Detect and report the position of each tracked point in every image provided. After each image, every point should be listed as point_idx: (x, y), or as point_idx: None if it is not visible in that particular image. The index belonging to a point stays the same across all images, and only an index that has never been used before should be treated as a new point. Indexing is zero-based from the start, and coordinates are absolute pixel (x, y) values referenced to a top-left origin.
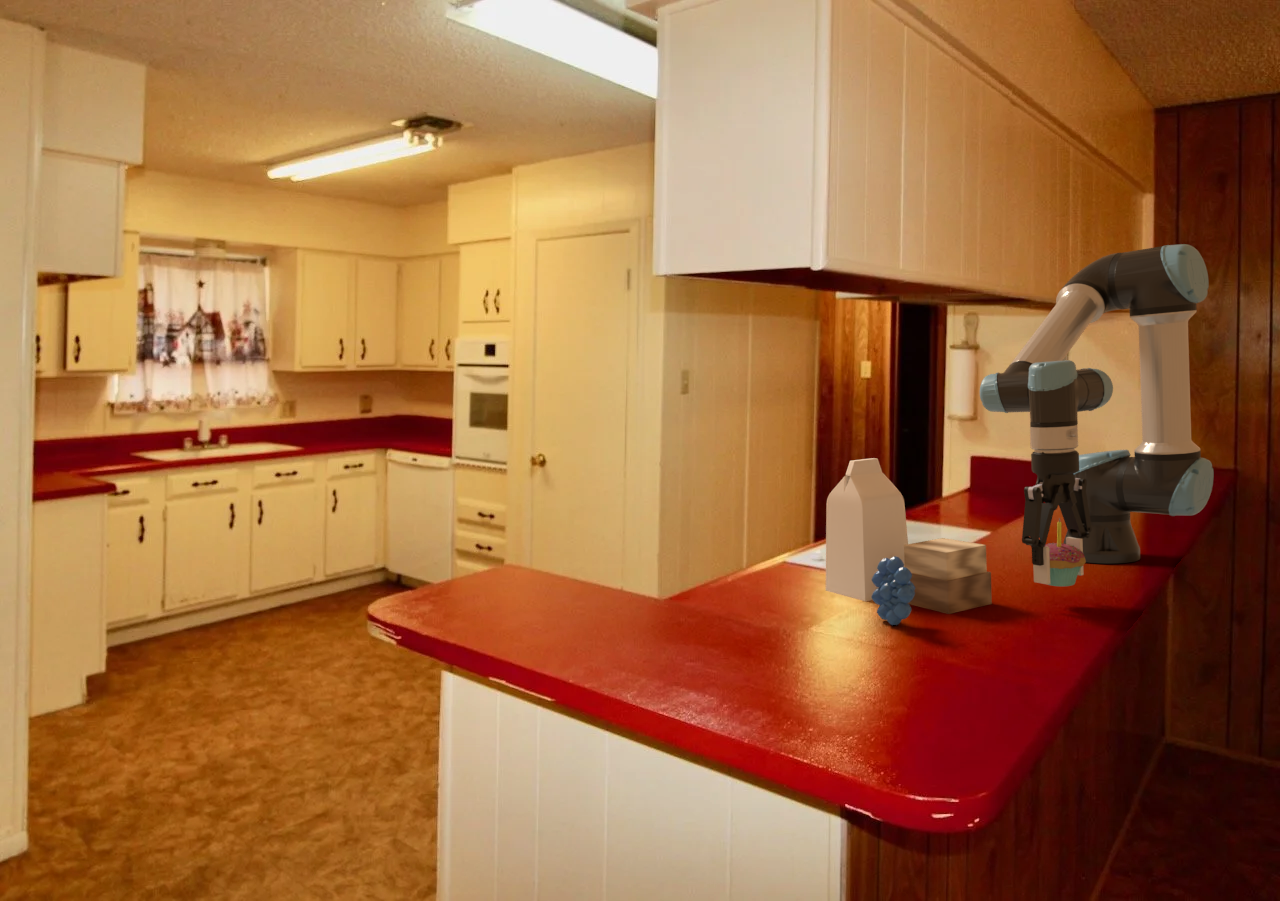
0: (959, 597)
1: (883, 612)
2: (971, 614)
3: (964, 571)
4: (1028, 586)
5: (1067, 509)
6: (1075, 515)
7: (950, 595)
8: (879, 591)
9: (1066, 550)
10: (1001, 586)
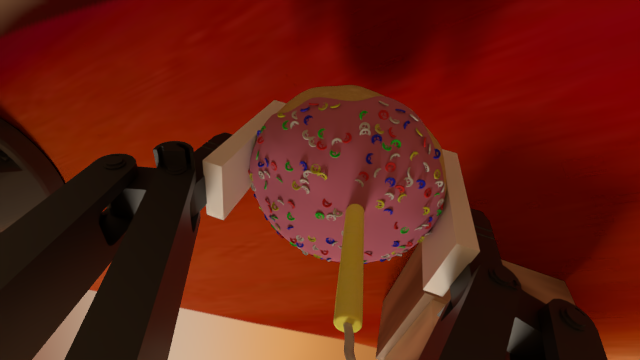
0: (536, 295)
1: None
2: (552, 247)
3: None
4: (252, 208)
5: (152, 356)
6: (147, 278)
7: None
8: None
9: (380, 171)
10: (282, 242)
